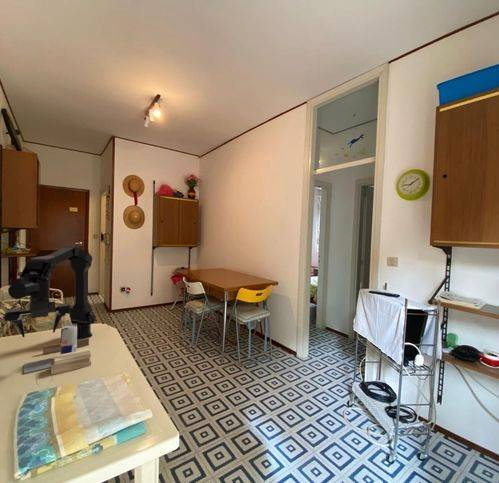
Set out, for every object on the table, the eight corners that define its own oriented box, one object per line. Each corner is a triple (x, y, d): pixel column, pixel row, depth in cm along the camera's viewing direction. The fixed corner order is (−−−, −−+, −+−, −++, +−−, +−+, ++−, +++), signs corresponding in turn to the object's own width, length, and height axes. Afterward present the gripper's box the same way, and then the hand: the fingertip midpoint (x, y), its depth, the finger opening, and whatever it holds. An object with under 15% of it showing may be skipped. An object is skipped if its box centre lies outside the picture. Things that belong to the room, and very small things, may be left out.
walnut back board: (42, 353, 108) (42, 346, 108) (88, 344, 118) (88, 337, 118) (42, 354, 108) (43, 347, 107) (88, 345, 118) (88, 338, 117)
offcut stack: (50, 368, 97) (50, 356, 97) (88, 360, 105) (89, 348, 105) (51, 374, 93) (51, 362, 93) (90, 365, 101) (91, 353, 101)
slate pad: (24, 364, 99) (24, 363, 99) (51, 359, 104) (51, 358, 104) (23, 374, 93) (23, 372, 93) (52, 367, 98) (52, 366, 98)
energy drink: (57, 357, 106) (58, 327, 105) (71, 352, 110) (72, 323, 110) (65, 361, 103) (65, 330, 103) (79, 355, 108) (80, 326, 108)
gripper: (3, 300, 86) (2, 348, 86) (72, 294, 97) (71, 336, 98) (6, 293, 94) (5, 337, 95) (69, 288, 106) (68, 327, 106)
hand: (39, 334), depth 98 cm, fingers open, 8 cm apart
